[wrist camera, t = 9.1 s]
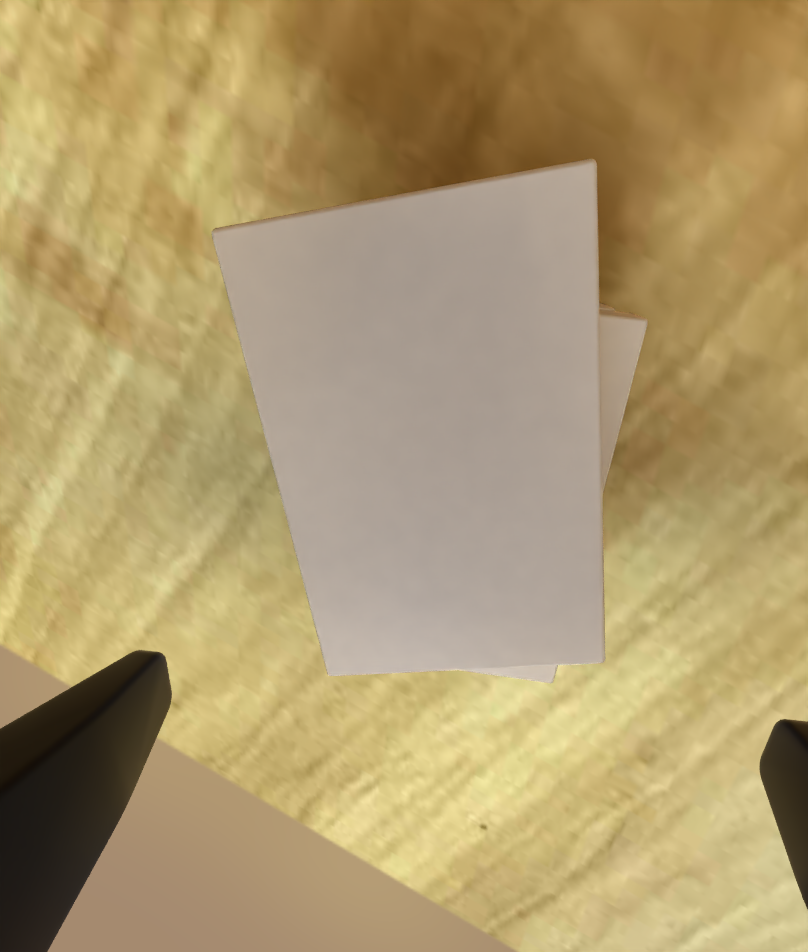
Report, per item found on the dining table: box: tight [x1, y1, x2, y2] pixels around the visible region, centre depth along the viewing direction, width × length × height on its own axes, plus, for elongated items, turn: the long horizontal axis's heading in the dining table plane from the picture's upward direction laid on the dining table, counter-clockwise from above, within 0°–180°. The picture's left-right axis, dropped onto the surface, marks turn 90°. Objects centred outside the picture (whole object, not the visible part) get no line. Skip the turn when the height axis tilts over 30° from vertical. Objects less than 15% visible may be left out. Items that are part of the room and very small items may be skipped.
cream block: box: [212, 159, 605, 676], centre depth 12 cm, size 6×10×2 cm, turn 9°
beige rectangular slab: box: [462, 303, 648, 683], centre depth 15 cm, size 7×10×2 cm
